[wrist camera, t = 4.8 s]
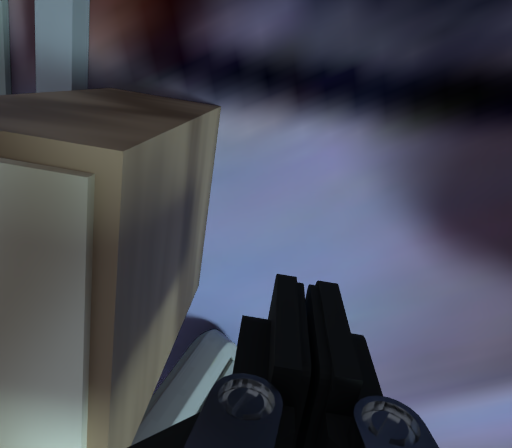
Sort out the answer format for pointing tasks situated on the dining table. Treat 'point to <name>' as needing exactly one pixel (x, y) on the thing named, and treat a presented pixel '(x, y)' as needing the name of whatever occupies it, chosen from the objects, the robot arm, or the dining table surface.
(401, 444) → the robot arm
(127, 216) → the block
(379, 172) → the dining table surface
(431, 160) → the dining table surface
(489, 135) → the dining table surface
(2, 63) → the mat
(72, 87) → the rail
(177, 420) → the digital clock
